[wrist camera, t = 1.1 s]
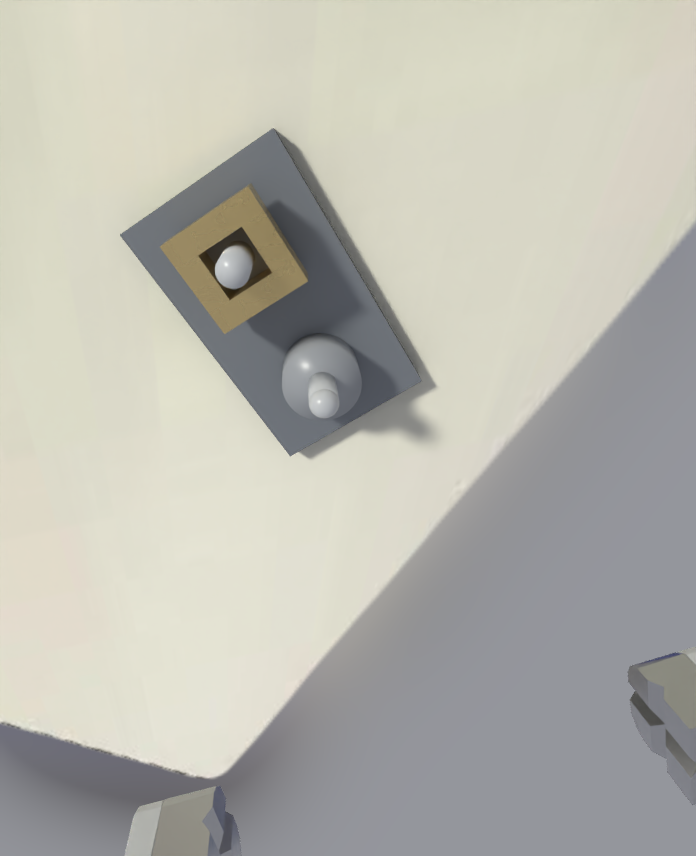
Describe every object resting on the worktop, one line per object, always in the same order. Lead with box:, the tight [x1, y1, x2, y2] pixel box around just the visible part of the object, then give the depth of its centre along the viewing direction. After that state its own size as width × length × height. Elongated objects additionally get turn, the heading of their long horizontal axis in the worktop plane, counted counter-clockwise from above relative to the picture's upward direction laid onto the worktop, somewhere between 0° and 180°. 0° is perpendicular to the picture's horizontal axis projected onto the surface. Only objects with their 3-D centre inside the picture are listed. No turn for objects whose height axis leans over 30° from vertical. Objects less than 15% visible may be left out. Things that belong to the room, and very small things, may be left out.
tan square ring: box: [160, 183, 308, 334], centre depth 36 cm, size 6×6×2 cm
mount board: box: [120, 128, 421, 456], centre depth 38 cm, size 12×20×8 cm, turn 31°
